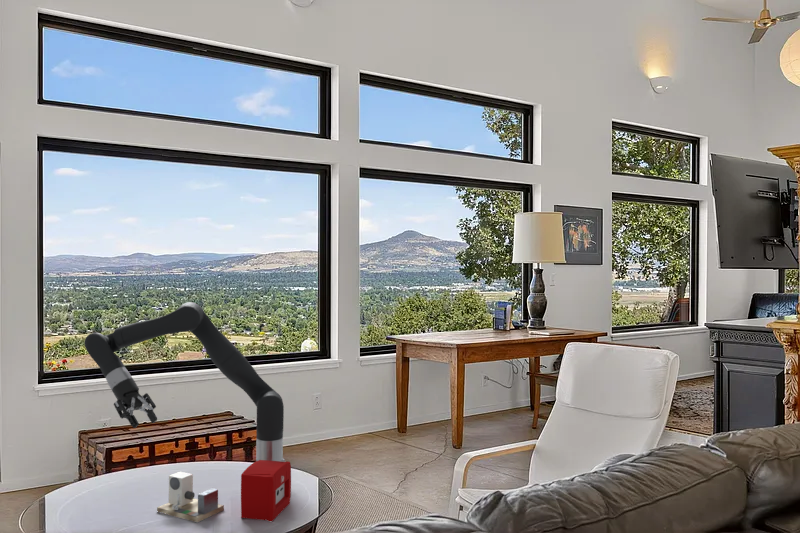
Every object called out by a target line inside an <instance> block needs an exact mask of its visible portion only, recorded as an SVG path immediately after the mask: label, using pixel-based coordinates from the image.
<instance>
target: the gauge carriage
mask: <svg viewBox="0 0 800 533" xmlns="http://www.w3.org/2000/svg"><path fill="white" fill-rule="evenodd" d="M193 484H194V474H193V473H189V472H184V471H178V472H175V473H172V474H170V475H168V503H169V504H174V505H172V509H174V510H175V505H177V494H180V504H182V506H184V505H186V504H188V503H191V502H193V498H195V492H194V490H193V489H194V485H193Z"/></svg>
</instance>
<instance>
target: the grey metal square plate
mask: <svg viewBox="0 0 800 533" xmlns="http://www.w3.org/2000/svg"><path fill="white" fill-rule="evenodd" d="M197 499H198V513H201V514H206V513H209V512H211V511H213V510H215V509H217V508H218V504H219V489H217V488H214V487H212V488H209V489H207V490H204V491H202V492H200V493H198V494H197Z"/></svg>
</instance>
